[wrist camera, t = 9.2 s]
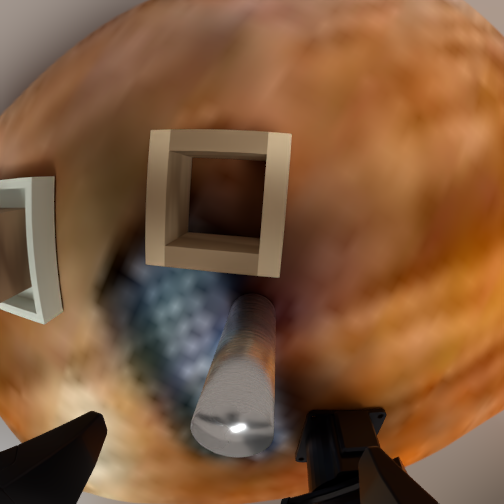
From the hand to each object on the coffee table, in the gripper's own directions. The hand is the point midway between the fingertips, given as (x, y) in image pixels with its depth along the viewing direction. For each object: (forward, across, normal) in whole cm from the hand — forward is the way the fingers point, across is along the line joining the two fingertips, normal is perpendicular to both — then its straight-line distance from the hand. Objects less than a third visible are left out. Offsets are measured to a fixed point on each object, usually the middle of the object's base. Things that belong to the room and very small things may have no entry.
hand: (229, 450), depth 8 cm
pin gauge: (+11, 0, 0) cm, 11 cm away
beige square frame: (+11, +2, -7) cm, 13 cm away
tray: (+11, +20, -3) cm, 23 cm away
